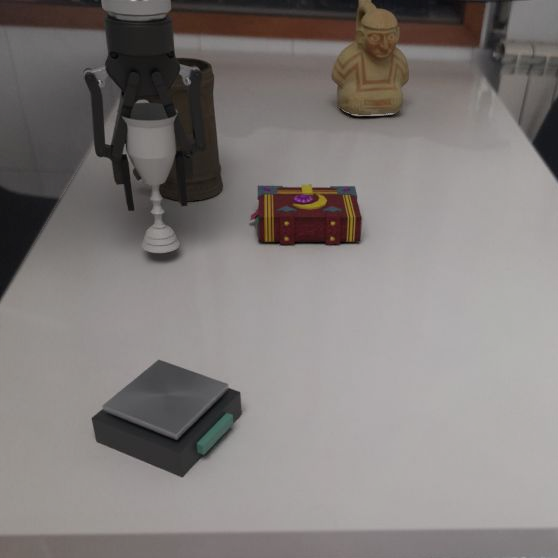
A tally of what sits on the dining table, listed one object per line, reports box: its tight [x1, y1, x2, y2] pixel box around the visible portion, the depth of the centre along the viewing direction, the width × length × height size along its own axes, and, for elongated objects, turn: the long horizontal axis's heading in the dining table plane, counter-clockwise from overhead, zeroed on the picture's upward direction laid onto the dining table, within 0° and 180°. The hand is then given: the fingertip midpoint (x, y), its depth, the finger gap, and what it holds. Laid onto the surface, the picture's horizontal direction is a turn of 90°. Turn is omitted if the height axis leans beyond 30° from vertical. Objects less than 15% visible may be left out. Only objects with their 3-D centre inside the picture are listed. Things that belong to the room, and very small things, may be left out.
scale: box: [91, 387, 243, 478], centre depth 70 cm, size 11×10×3 cm
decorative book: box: [250, 184, 363, 245], centre depth 107 cm, size 11×16×5 cm
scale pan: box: [101, 359, 230, 440], centre depth 69 cm, size 8×8×1 cm
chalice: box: [116, 102, 181, 254], centre depth 93 cm, size 7×7×18 cm
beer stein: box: [132, 57, 224, 202], centre depth 112 cm, size 15×11×20 cm
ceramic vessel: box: [330, 0, 410, 115], centre depth 151 cm, size 17×20×25 cm
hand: (156, 203), depth 94 cm, fingers closed on chalice, 6 cm apart
